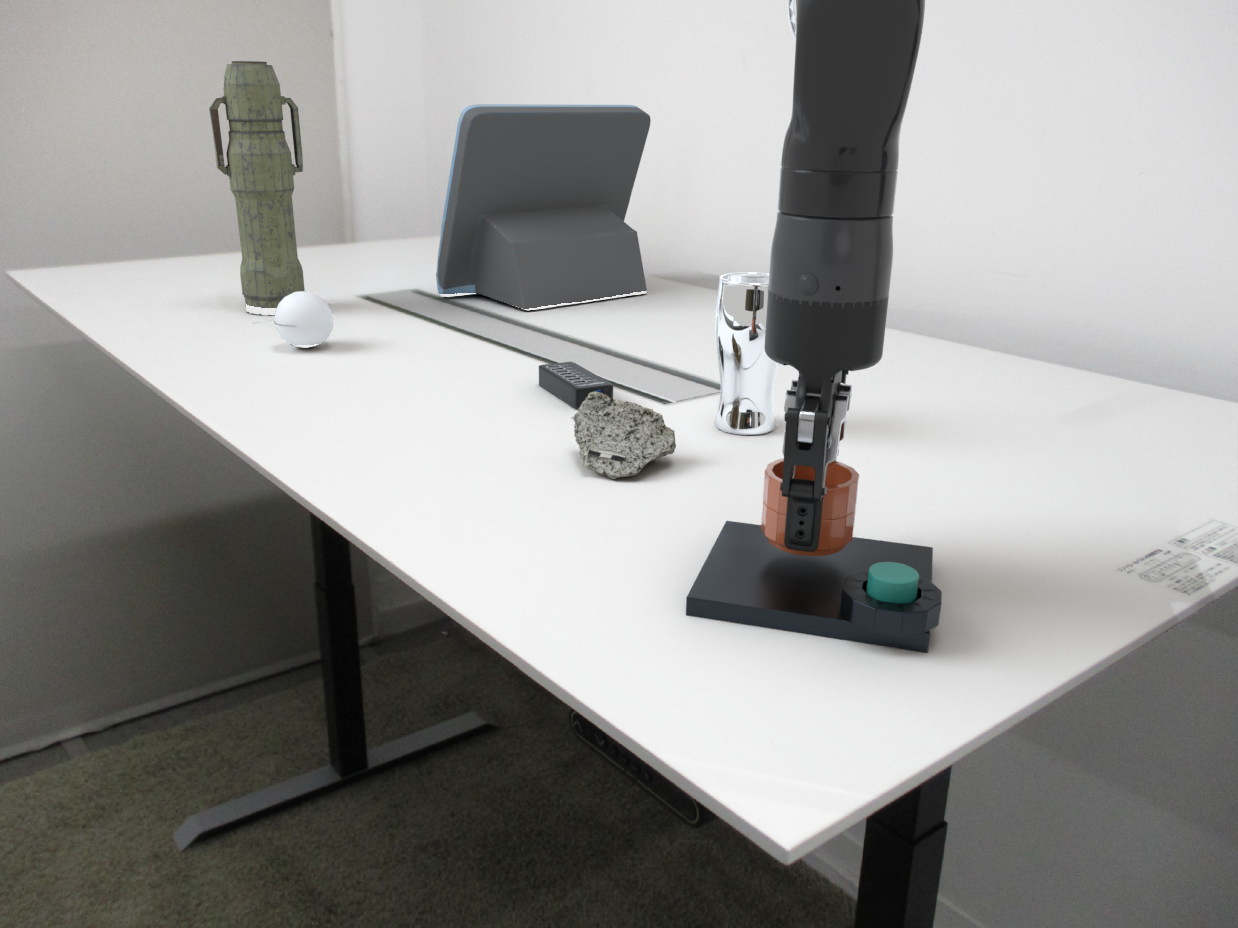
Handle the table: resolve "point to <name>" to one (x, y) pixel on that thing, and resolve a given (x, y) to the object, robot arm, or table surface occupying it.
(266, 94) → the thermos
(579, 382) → the multiport hub
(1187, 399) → the table surface
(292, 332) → the white ball
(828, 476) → the terracotta cup
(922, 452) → the table surface
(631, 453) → the rock sample
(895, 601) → the tare button
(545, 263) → the touchscreen device
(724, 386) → the beer glass
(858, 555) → the scale
